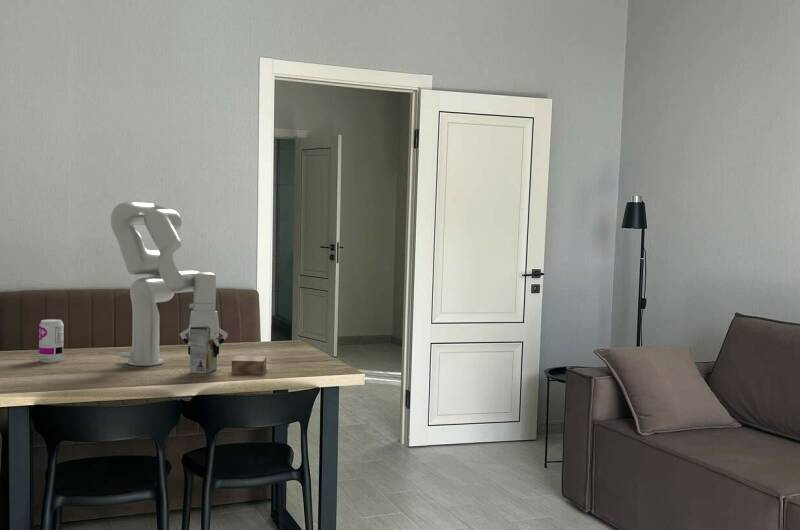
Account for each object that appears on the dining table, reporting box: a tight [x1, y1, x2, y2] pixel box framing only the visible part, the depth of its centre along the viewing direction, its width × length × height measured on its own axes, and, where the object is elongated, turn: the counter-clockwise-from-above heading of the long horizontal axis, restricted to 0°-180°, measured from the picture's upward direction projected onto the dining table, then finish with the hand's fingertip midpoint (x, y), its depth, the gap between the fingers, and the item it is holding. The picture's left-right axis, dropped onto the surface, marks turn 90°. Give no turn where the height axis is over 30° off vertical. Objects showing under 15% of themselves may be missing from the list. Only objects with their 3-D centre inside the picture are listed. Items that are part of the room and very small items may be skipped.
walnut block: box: [231, 355, 267, 375], centre depth 290 cm, size 11×11×5 cm
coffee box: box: [189, 327, 218, 375], centre depth 287 cm, size 9×6×16 cm
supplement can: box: [38, 318, 65, 364], centre depth 297 cm, size 8×8×15 cm
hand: (203, 356), depth 287 cm, fingers closed on coffee box, 7 cm apart
